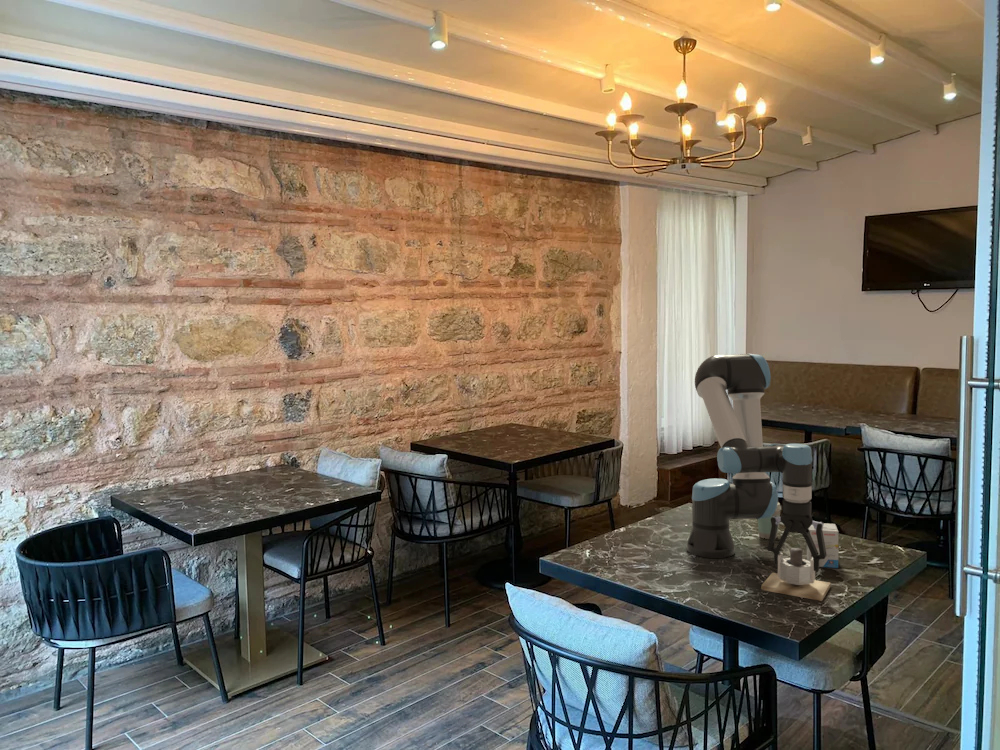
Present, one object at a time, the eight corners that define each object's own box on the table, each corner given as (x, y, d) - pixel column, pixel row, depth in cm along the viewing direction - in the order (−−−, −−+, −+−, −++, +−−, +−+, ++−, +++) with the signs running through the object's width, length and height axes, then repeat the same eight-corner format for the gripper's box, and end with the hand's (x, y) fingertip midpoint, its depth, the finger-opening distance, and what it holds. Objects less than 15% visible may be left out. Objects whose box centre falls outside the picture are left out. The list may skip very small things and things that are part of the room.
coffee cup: (785, 540, 252) (785, 505, 251) (759, 540, 252) (760, 506, 251) (776, 532, 260) (776, 499, 259) (751, 533, 260) (751, 499, 259)
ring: (777, 581, 207) (778, 564, 206) (784, 573, 213) (784, 556, 213) (808, 586, 202) (808, 568, 202) (814, 578, 209) (814, 560, 208)
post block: (761, 589, 208) (761, 550, 207) (772, 576, 218) (772, 539, 217) (822, 601, 199) (822, 560, 198) (830, 586, 209) (831, 548, 208)
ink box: (835, 559, 231) (836, 523, 230) (838, 568, 223) (839, 531, 222) (806, 557, 234) (806, 521, 233) (807, 566, 226) (808, 529, 225)
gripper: (755, 498, 209) (754, 576, 211) (834, 507, 197) (833, 590, 199) (762, 492, 215) (761, 568, 217) (839, 501, 203) (838, 581, 205)
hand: (796, 578), depth 208 cm, fingers closed on ring, 8 cm apart
